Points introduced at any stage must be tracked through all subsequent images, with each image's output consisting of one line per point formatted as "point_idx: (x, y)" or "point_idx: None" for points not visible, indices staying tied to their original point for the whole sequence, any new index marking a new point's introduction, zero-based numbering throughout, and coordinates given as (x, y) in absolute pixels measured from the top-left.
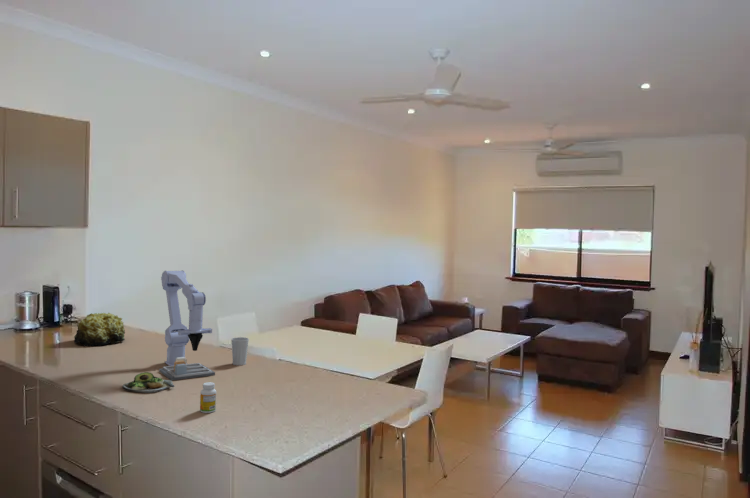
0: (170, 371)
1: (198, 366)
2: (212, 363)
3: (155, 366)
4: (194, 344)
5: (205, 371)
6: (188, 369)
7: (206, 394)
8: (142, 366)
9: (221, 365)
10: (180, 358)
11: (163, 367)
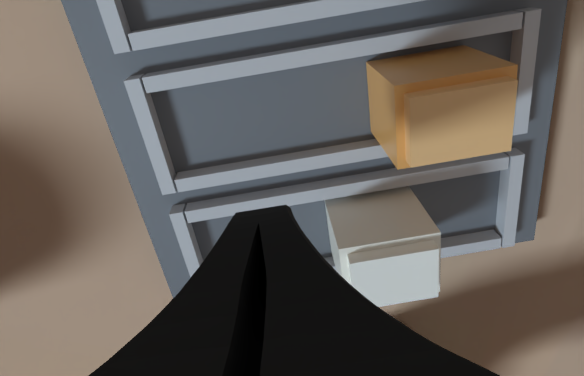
0: (526, 56)
1: (213, 180)
2: (85, 351)
3: (489, 353)
4: (300, 261)
5: (151, 12)
6: (315, 149)
7: None
8: (560, 367)
9: (3, 285)
10: (411, 254)
11: (513, 235)
